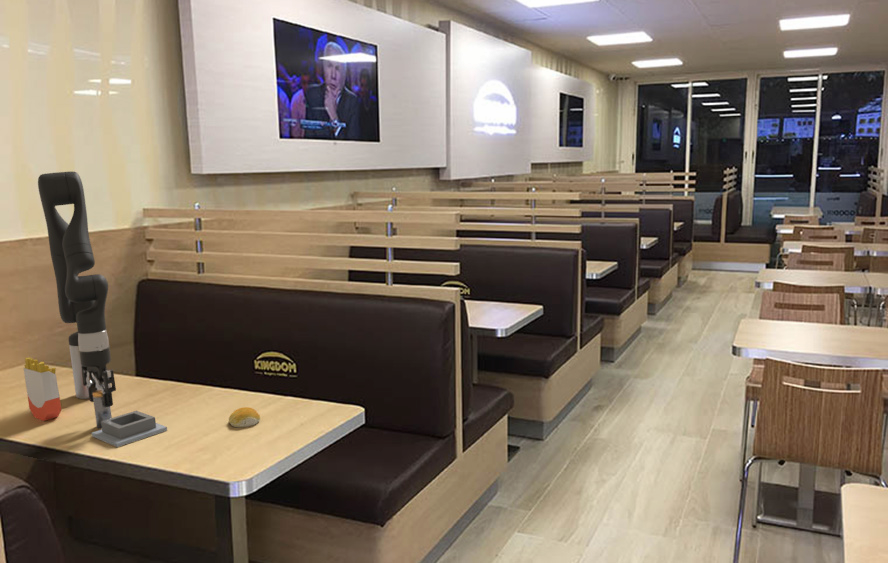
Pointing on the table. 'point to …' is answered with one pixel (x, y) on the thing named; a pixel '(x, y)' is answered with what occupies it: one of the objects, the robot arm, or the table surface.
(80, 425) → the table surface
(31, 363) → the french fries container
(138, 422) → the socket
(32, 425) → the table surface
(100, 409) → the cylinder
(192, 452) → the table surface
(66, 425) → the table surface
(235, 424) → the bread roll
